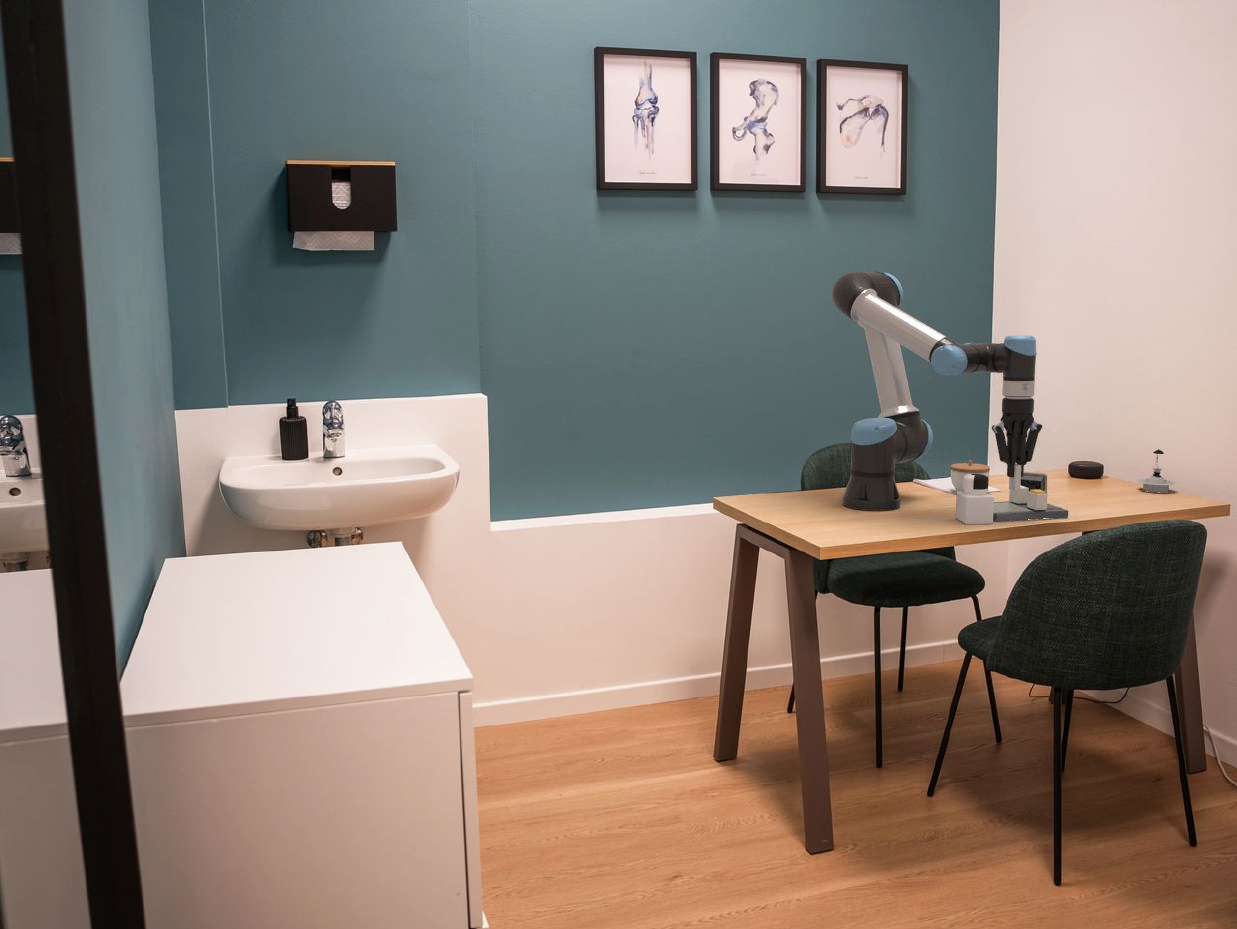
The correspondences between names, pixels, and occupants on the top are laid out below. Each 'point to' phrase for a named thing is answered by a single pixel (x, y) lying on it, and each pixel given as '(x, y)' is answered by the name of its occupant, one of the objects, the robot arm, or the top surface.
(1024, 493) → the breaker
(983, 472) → the lidded jar
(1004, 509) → the panel
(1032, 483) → the electrical switch
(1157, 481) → the grey stand with stem
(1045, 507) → the block
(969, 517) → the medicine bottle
